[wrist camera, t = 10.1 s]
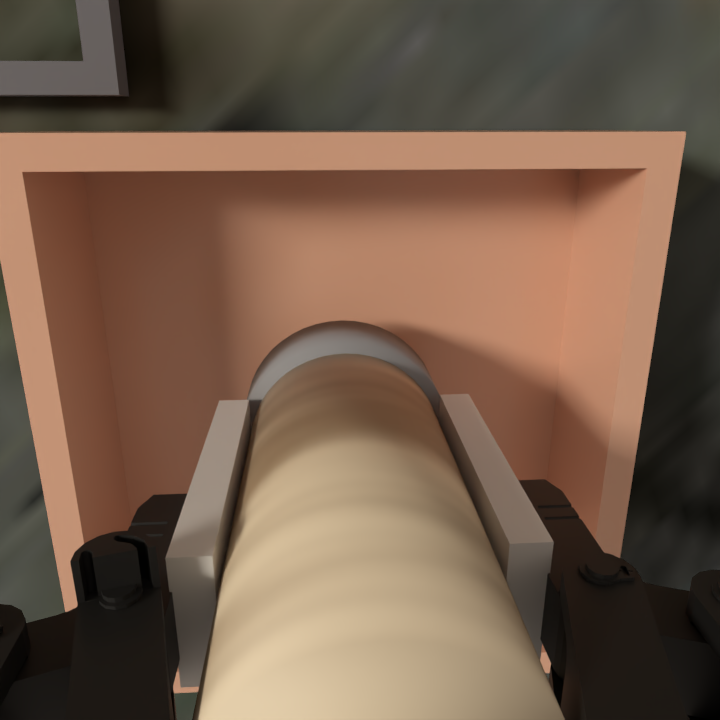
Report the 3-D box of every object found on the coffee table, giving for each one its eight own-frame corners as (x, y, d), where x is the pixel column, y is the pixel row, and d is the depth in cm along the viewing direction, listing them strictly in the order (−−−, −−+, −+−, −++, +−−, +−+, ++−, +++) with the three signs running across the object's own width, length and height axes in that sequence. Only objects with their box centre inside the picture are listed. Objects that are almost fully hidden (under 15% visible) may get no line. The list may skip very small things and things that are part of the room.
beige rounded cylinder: (241, 322, 18) (126, 631, 7) (439, 318, 19) (629, 607, 8) (252, 497, 20) (174, 962, 9) (432, 491, 21) (576, 931, 9)
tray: (56, 131, 18) (-24, 133, 14) (602, 130, 19) (685, 131, 15) (124, 593, 24) (81, 698, 19) (551, 573, 25) (602, 669, 20)
